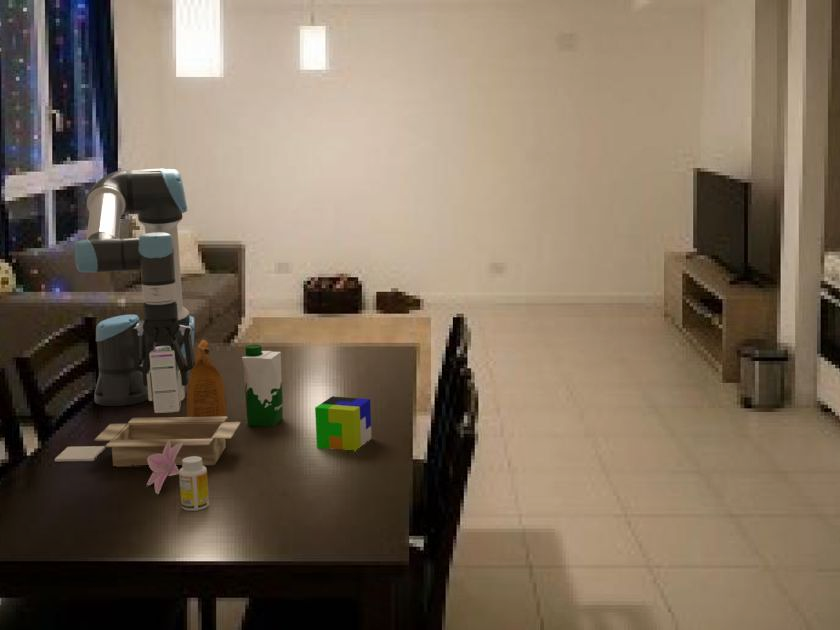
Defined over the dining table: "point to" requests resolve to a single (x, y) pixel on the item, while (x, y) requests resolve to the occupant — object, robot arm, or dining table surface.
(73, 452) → the plate
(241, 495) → the dining table surface
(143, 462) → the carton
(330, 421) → the puzzle toy
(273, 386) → the milk carton
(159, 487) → the lily
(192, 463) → the supplement bottle
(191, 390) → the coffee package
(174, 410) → the syrup box
